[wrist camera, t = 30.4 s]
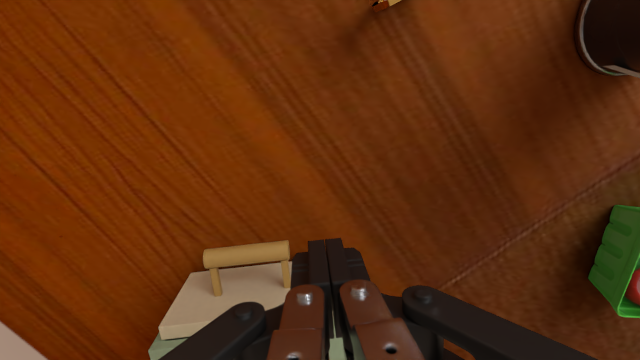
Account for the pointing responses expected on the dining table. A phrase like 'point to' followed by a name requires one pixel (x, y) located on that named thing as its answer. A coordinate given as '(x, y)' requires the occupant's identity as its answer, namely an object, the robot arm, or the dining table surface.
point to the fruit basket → (620, 262)
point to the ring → (381, 4)
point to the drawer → (229, 286)
